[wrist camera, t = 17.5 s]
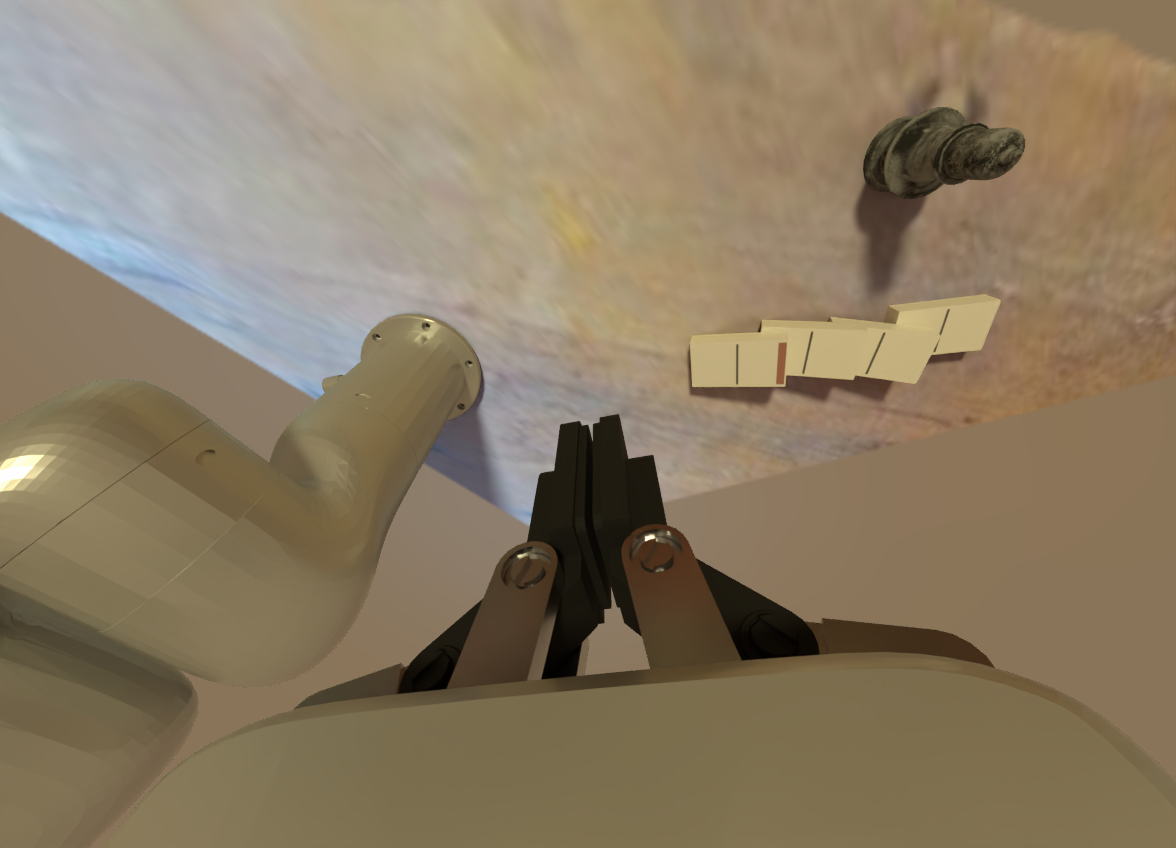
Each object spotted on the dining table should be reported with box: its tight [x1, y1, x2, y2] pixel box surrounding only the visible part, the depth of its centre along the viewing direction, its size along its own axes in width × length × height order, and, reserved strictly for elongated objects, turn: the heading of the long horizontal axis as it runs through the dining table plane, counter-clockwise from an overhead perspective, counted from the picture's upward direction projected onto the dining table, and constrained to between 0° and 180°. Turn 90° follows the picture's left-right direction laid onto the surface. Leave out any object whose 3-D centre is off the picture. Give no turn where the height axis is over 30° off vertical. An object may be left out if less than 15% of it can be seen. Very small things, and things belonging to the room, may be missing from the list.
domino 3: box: [829, 317, 941, 384], centre depth 41 cm, size 2×5×9 cm
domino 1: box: [690, 331, 789, 387], centre depth 42 cm, size 2×5×9 cm
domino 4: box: [884, 294, 1001, 355], centre depth 42 cm, size 2×5×9 cm
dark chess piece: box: [863, 107, 1025, 199], centre depth 30 cm, size 6×6×12 cm
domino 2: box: [760, 320, 868, 380], centre depth 41 cm, size 2×5×9 cm
